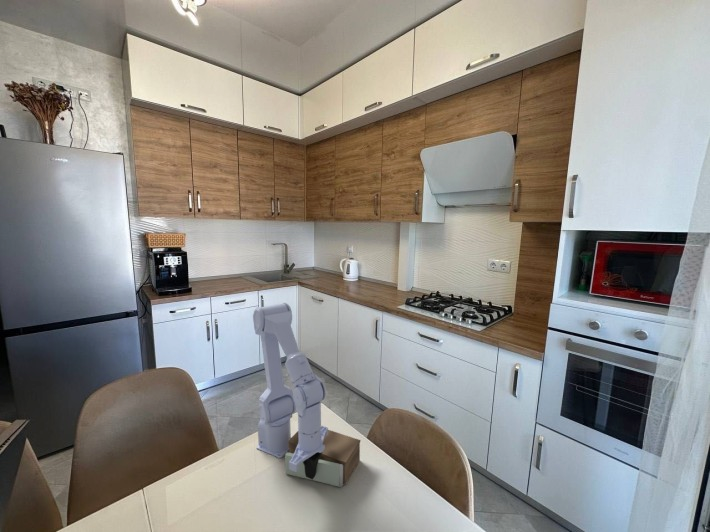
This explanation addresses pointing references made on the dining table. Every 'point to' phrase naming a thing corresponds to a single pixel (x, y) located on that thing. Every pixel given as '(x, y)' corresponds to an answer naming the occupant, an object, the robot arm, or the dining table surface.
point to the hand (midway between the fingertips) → (310, 476)
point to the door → (319, 471)
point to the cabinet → (336, 451)
